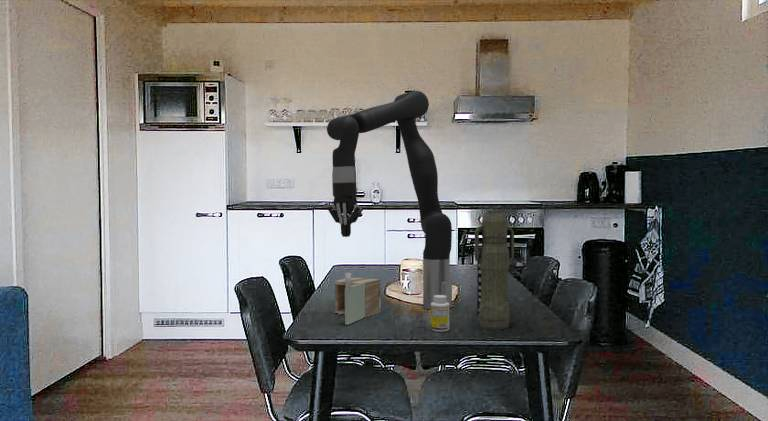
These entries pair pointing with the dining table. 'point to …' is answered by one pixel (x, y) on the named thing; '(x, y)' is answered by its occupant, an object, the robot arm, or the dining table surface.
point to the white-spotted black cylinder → (478, 287)
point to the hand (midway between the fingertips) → (345, 236)
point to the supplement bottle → (440, 314)
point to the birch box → (370, 295)
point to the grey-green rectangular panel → (354, 300)
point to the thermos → (494, 269)
